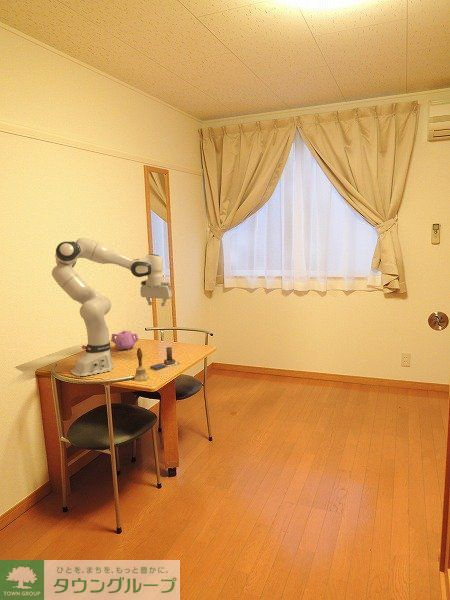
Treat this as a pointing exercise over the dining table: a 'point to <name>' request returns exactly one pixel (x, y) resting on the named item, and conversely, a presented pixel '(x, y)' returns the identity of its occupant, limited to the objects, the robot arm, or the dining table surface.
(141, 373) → the hand bell
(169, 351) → the stamp
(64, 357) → the dining table surface
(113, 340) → the pot
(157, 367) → the ink pad
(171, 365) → the marked card
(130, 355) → the dining table surface
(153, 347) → the dining table surface
